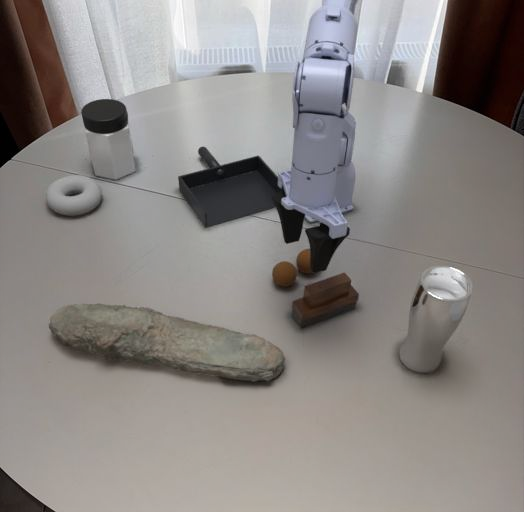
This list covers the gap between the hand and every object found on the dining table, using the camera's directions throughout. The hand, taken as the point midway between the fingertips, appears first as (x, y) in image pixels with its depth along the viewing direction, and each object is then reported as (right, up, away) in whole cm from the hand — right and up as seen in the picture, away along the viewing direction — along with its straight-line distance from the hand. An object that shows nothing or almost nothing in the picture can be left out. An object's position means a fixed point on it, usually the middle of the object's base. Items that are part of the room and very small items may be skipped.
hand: (304, 255), depth 81 cm
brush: (+4, -7, +10) cm, 13 cm away
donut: (-40, +14, +26) cm, 50 cm away
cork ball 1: (-2, -1, +12) cm, 12 cm away
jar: (-35, +23, +34) cm, 54 cm away
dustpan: (-13, +19, +31) cm, 39 cm away
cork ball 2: (+2, +1, +14) cm, 14 cm away
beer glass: (+17, -14, +4) cm, 23 cm away
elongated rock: (-20, -13, +4) cm, 24 cm away
